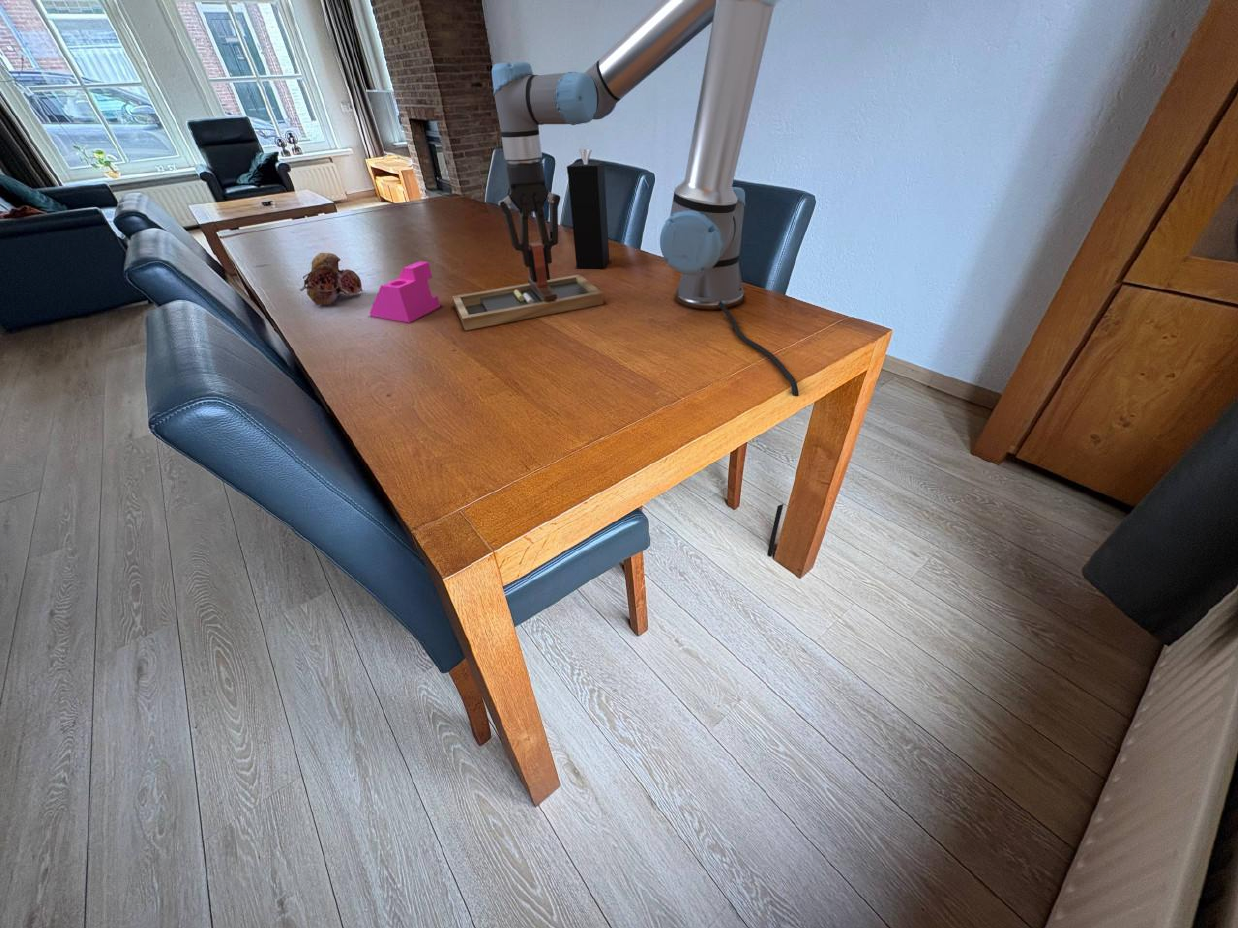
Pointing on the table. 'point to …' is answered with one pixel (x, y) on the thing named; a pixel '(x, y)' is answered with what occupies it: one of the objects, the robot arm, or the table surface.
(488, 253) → the table surface
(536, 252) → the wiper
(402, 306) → the bracket
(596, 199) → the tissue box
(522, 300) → the yellow chalk
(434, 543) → the table surface
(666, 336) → the table surface
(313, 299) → the seed pod
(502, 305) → the slate
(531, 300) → the white chalk
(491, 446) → the table surface
